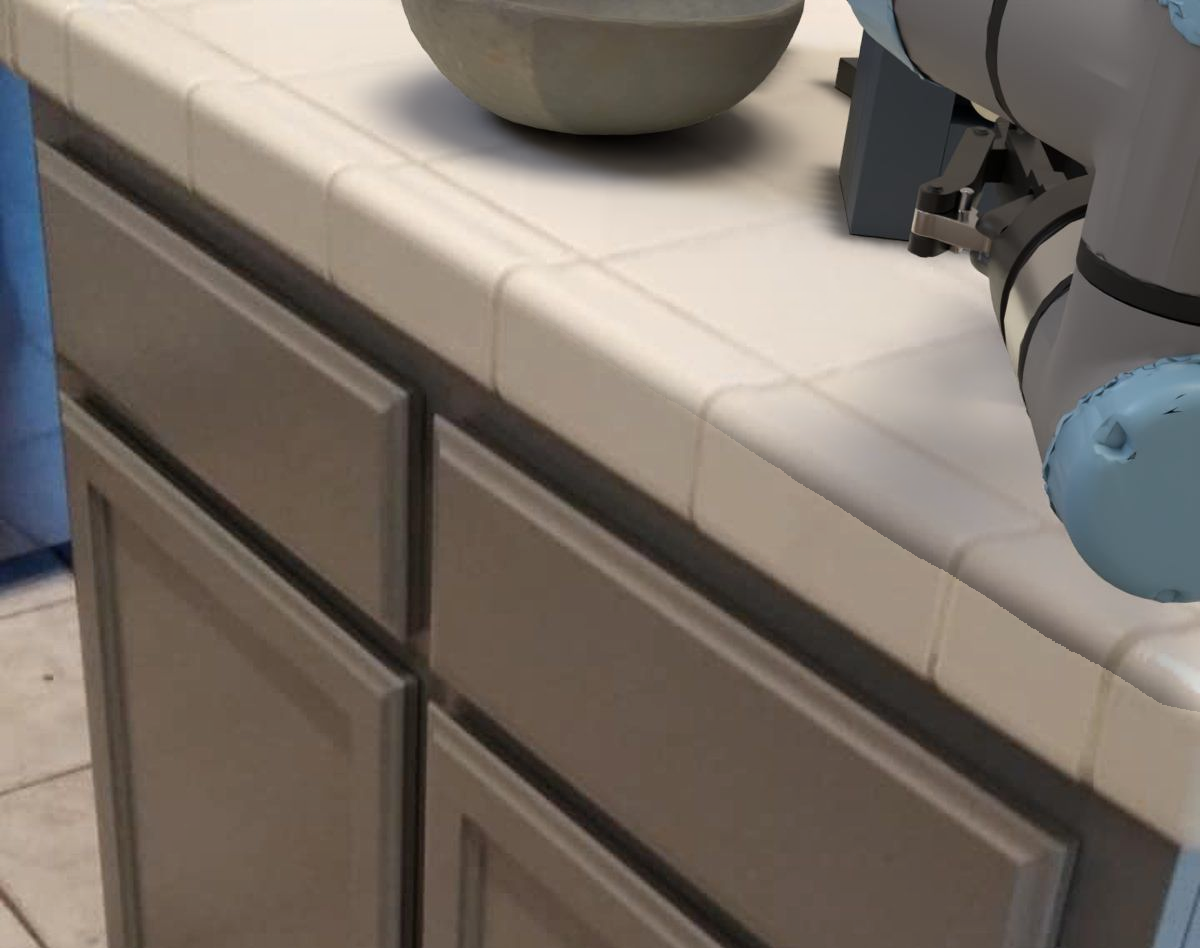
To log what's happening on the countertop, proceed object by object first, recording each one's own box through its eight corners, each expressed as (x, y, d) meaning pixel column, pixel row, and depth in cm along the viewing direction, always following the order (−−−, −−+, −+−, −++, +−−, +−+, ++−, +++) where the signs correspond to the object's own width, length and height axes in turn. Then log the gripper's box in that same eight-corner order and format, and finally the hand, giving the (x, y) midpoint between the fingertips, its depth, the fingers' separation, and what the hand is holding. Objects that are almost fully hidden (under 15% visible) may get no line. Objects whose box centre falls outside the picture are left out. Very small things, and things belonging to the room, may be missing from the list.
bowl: (536, 205, 98) (551, 34, 93) (319, 80, 111) (322, -75, 106) (859, 160, 109) (886, 5, 105) (627, 51, 122) (642, -90, 118)
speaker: (838, 173, 107) (882, -86, 100) (1063, 199, 107) (1123, -57, 100) (849, 234, 99) (898, -42, 92) (1092, 262, 100) (1159, -11, 92)
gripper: (904, 390, 72) (863, 181, 92) (1265, 432, 73) (1148, 214, 92) (946, 182, 68) (894, 8, 88) (1329, 227, 68) (1193, 44, 88)
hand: (1024, 114), depth 90 cm, fingers closed
